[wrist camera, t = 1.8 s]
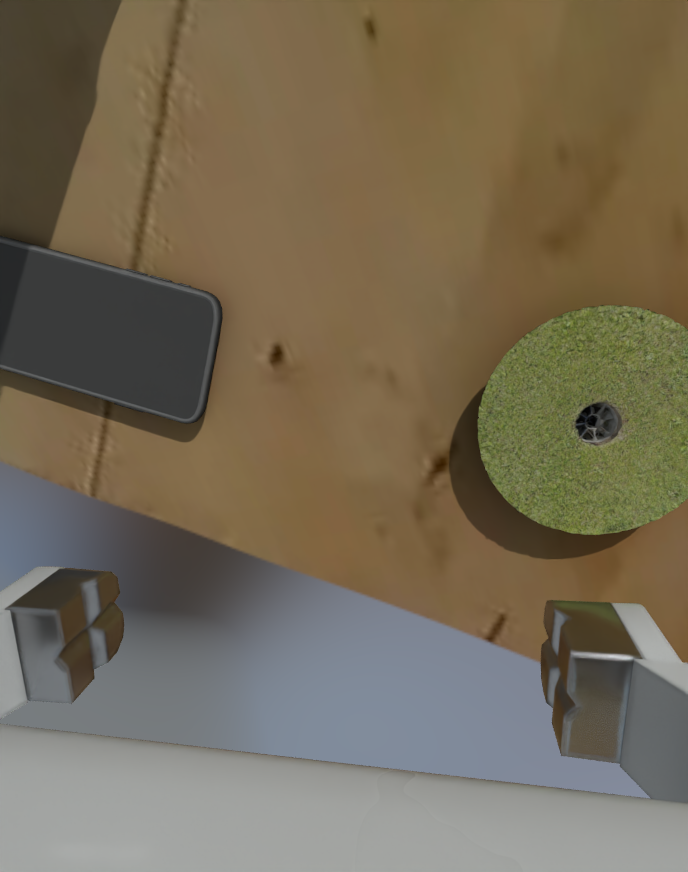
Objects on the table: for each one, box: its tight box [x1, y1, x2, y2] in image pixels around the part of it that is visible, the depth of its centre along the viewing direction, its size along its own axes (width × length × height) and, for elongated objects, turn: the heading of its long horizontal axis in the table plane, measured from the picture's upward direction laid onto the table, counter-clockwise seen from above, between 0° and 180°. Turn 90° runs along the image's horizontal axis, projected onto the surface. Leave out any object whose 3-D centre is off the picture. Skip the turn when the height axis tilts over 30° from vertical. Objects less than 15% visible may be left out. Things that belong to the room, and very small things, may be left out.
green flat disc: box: [478, 305, 688, 535], centre depth 27 cm, size 11×11×2 cm
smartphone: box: [0, 236, 222, 423], centre depth 30 cm, size 7×1×15 cm
